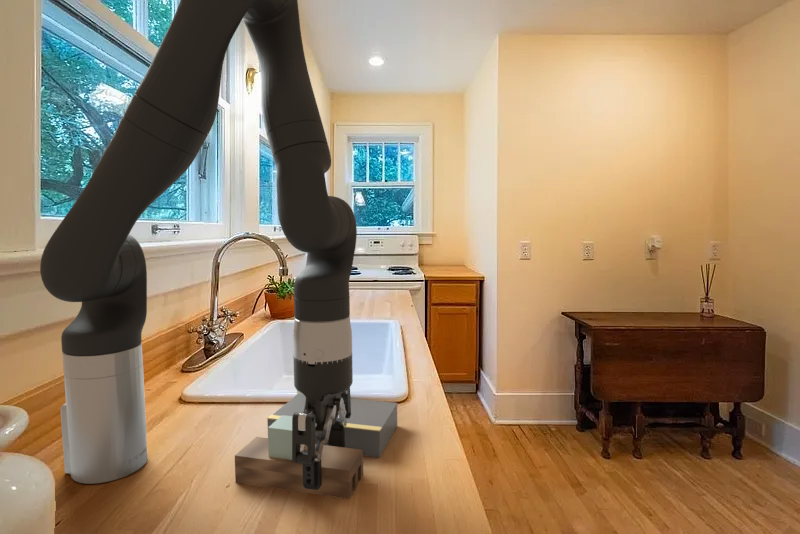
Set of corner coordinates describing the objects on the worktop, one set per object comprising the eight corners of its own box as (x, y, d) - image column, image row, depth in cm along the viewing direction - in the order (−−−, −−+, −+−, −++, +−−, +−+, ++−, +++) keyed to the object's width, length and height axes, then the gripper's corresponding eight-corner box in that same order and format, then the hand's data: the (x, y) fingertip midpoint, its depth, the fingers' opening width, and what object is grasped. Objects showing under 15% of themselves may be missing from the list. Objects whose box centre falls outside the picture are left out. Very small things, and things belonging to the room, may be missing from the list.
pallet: (235, 484, 63) (234, 455, 62) (257, 463, 68) (256, 436, 68) (349, 501, 59) (349, 470, 59) (363, 477, 65) (363, 449, 64)
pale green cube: (268, 456, 62) (267, 427, 62) (282, 442, 66) (282, 415, 66) (296, 460, 61) (296, 430, 61) (309, 446, 65) (309, 418, 65)
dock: (268, 443, 74) (267, 417, 73) (298, 415, 84) (298, 392, 84) (379, 457, 69) (379, 430, 69) (397, 425, 80) (397, 402, 80)
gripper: (317, 336, 69) (319, 442, 71) (269, 365, 55) (273, 497, 57) (366, 338, 67) (368, 447, 69) (330, 370, 53) (332, 505, 55)
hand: (325, 469), depth 63 cm, fingers open, 8 cm apart
